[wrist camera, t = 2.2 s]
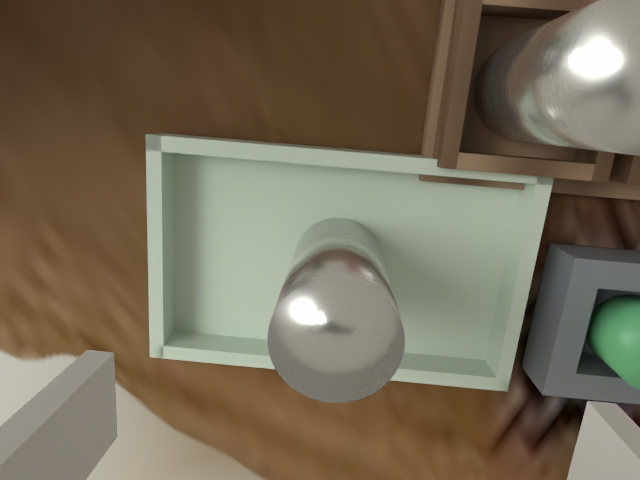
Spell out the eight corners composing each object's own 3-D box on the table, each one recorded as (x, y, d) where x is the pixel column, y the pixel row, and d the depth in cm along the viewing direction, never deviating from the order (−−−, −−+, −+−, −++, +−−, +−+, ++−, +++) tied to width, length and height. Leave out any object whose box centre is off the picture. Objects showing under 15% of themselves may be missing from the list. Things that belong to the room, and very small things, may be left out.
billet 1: (291, 296, 27) (264, 396, 17) (297, 213, 25) (271, 271, 16) (375, 303, 27) (395, 409, 17) (385, 221, 25) (413, 284, 16)
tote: (166, 336, 28) (149, 357, 26) (164, 132, 25) (145, 134, 23) (492, 368, 28) (507, 391, 26) (534, 164, 25) (555, 169, 22)
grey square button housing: (521, 366, 28) (542, 395, 25) (549, 242, 26) (575, 258, 23) (651, 378, 28) (688, 409, 25) (690, 255, 26) (734, 272, 23)
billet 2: (465, 136, 23) (554, 148, 14) (482, 32, 22) (593, -36, 12) (562, 144, 23) (720, 162, 14) (585, 40, 22) (778, -23, 12)
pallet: (416, 178, 25) (427, 186, 22) (444, -21, 23) (460, -43, 20) (743, 206, 25) (800, 219, 22) (809, 8, 22) (885, -11, 19)
